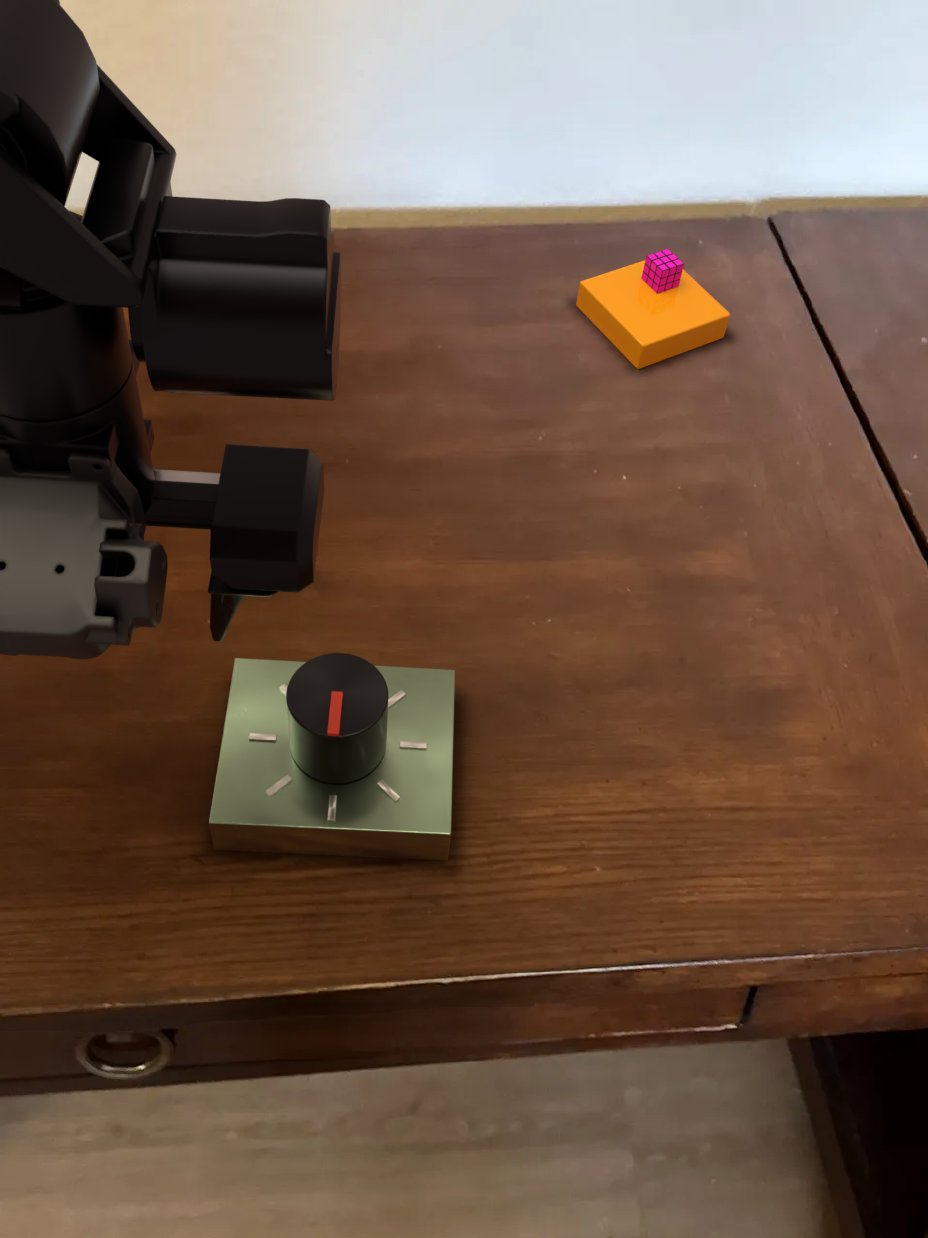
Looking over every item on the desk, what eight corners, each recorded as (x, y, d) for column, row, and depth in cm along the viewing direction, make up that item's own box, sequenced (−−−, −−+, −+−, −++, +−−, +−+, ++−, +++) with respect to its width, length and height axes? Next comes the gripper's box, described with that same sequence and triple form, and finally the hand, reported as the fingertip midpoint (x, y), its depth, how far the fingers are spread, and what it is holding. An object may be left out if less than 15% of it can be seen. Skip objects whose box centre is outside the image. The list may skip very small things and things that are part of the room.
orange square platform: (724, 338, 90) (738, 291, 86) (637, 370, 87) (648, 323, 84) (660, 276, 94) (671, 229, 90) (575, 305, 91) (583, 257, 87)
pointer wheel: (295, 698, 64) (291, 645, 61) (389, 704, 65) (391, 651, 61) (284, 781, 61) (280, 731, 58) (383, 786, 62) (385, 737, 58)
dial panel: (213, 850, 62) (207, 821, 60) (238, 688, 68) (234, 655, 66) (447, 861, 63) (451, 833, 60) (451, 699, 69) (455, 667, 66)
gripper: (-312, 520, 38) (-147, 772, 50) (291, 555, 39) (306, 794, 51) (-190, 292, 44) (-72, 564, 57) (321, 327, 45) (328, 587, 58)
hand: (117, 628), depth 55 cm, fingers open, 9 cm apart
